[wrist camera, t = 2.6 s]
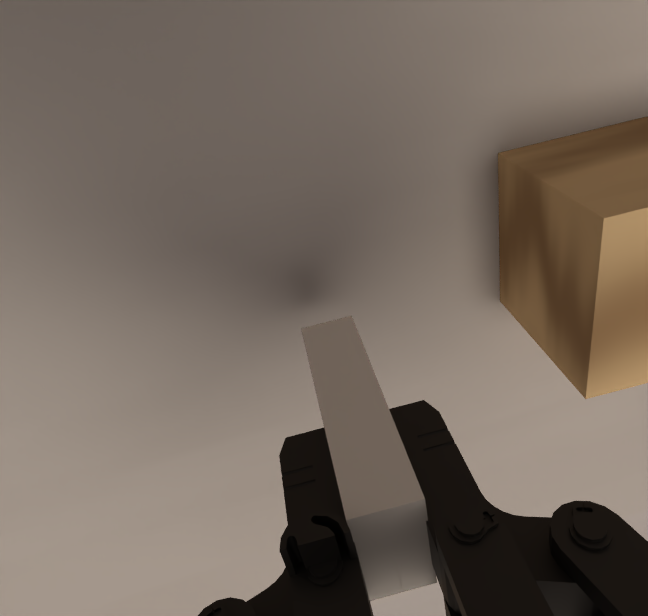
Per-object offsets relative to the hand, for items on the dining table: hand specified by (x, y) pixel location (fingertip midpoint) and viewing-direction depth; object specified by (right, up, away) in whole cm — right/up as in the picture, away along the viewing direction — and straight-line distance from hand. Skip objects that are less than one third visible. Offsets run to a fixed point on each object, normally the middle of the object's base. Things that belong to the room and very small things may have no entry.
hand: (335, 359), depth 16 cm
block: (+9, +5, +4) cm, 11 cm away
